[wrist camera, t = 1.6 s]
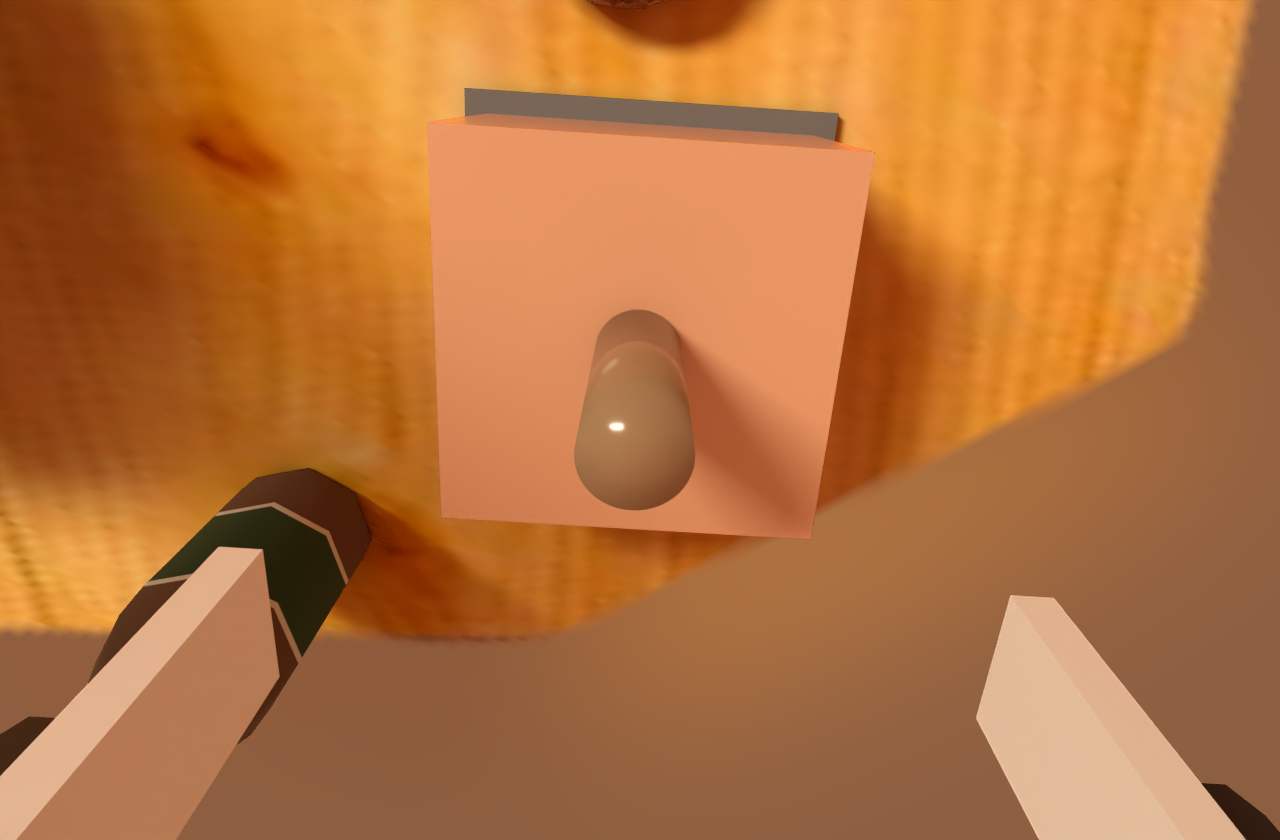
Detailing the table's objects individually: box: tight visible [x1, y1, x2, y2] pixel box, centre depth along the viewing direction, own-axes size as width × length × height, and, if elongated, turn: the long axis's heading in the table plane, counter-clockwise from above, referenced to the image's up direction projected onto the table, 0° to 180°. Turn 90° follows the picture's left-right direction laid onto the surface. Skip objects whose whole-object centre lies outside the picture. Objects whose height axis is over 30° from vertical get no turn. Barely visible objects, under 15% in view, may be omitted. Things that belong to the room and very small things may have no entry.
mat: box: [465, 88, 838, 141], centre depth 40 cm, size 17×17×1 cm
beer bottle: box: [87, 468, 372, 745], centre depth 34 cm, size 8×8×24 cm
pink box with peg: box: [427, 113, 875, 540], centre depth 30 cm, size 15×15×20 cm
